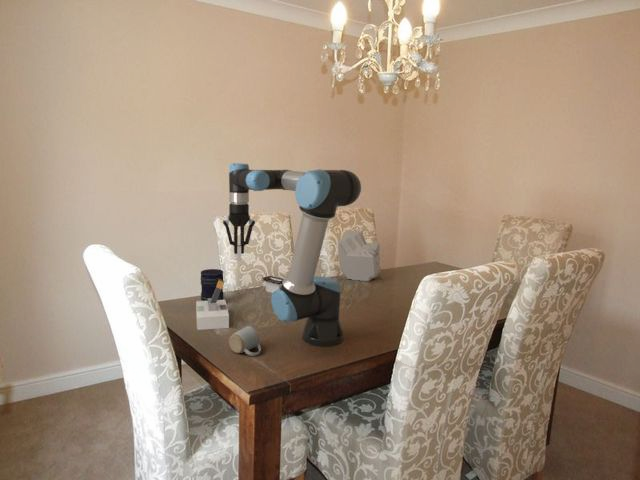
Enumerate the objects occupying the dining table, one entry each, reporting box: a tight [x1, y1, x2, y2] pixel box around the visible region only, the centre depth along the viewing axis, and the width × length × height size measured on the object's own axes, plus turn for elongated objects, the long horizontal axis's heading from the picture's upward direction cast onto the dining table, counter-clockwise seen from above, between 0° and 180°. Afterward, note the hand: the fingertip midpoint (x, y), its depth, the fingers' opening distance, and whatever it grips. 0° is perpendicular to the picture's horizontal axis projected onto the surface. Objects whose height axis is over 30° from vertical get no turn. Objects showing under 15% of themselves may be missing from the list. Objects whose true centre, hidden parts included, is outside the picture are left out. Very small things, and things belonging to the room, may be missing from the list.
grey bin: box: [261, 272, 284, 294], centre depth 228 cm, size 20×25×10 cm
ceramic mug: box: [228, 325, 262, 357], centre depth 159 cm, size 11×8×8 cm
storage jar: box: [200, 268, 224, 301], centre depth 206 cm, size 10×10×15 cm
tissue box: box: [337, 230, 382, 282], centre depth 256 cm, size 20×16×25 cm
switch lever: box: [210, 279, 225, 303], centre depth 187 cm, size 4×2×12 cm, turn 15°
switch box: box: [195, 298, 230, 331], centre depth 188 cm, size 20×12×8 cm, turn 15°
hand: (239, 261), depth 187 cm, fingers closed
